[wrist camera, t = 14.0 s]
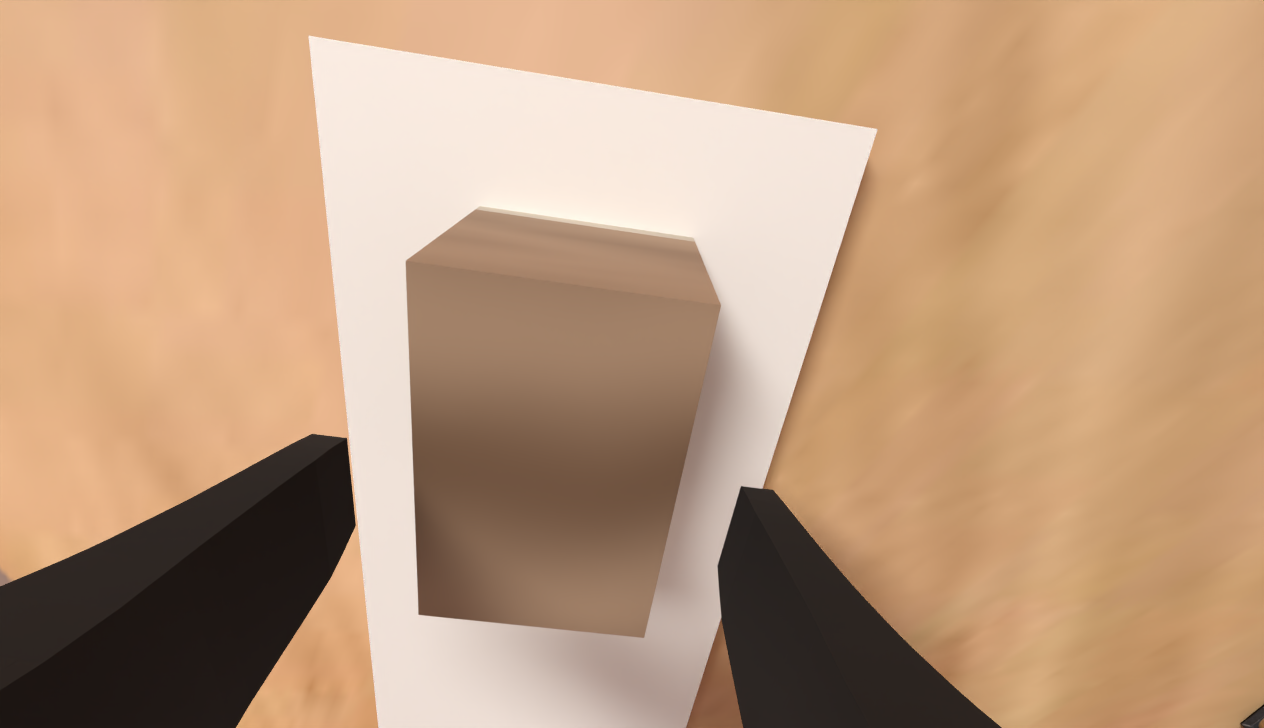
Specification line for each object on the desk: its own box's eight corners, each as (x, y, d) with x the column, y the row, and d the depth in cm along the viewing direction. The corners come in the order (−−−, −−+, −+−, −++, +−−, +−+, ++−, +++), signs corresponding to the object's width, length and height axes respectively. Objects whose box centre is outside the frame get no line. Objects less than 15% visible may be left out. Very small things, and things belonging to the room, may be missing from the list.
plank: (666, 753, 24) (667, 785, 23) (393, 729, 24) (381, 760, 23) (857, 125, 13) (878, 129, 12) (337, 40, 12) (307, 35, 11)
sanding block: (641, 501, 16) (644, 637, 12) (473, 481, 16) (418, 614, 12) (693, 237, 13) (721, 304, 9) (479, 206, 13) (405, 260, 9)
